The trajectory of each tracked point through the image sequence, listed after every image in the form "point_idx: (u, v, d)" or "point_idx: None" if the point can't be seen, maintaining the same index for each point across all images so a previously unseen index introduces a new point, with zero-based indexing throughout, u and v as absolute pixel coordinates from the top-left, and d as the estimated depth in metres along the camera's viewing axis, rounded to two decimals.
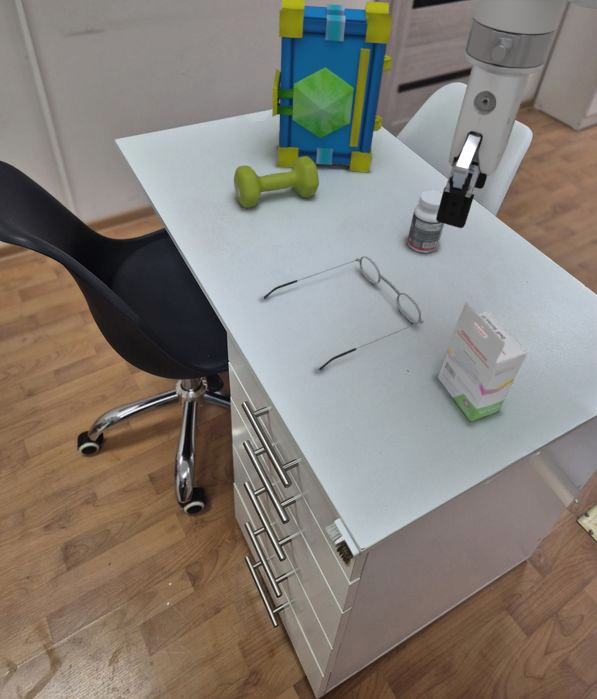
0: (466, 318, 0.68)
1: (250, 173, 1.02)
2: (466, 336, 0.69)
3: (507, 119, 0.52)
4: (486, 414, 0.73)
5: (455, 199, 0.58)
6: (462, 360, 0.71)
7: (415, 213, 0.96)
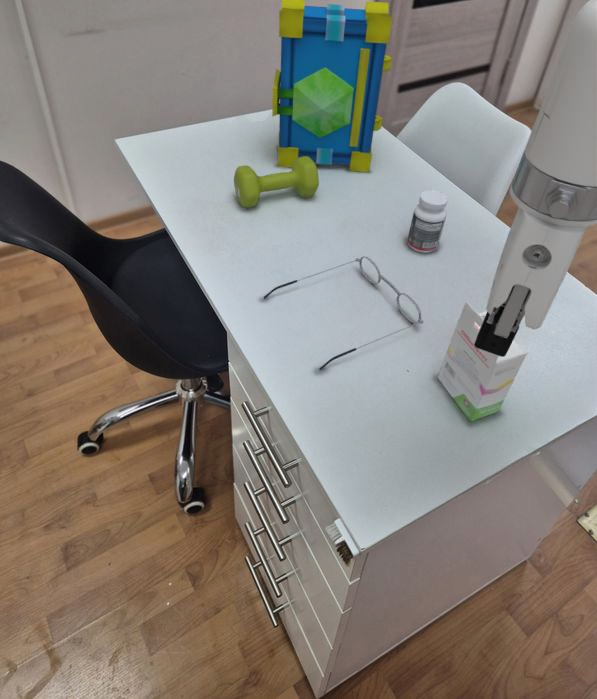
0: (466, 318, 0.68)
1: (250, 173, 1.02)
2: (466, 336, 0.69)
3: (563, 276, 0.42)
4: (486, 414, 0.73)
5: None
6: (462, 360, 0.71)
7: (415, 213, 0.96)
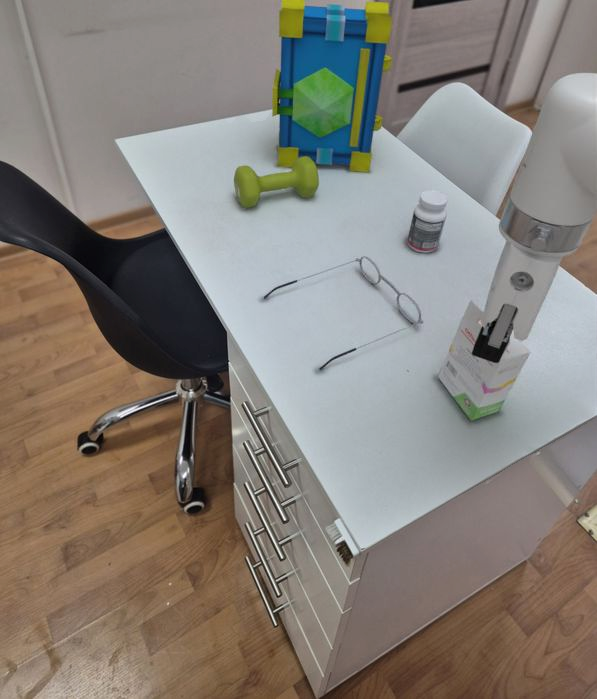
0: (470, 316, 0.68)
1: (250, 173, 1.02)
2: (470, 334, 0.69)
3: (544, 297, 0.51)
4: (486, 414, 0.73)
5: None
6: (464, 358, 0.71)
7: (415, 213, 0.96)
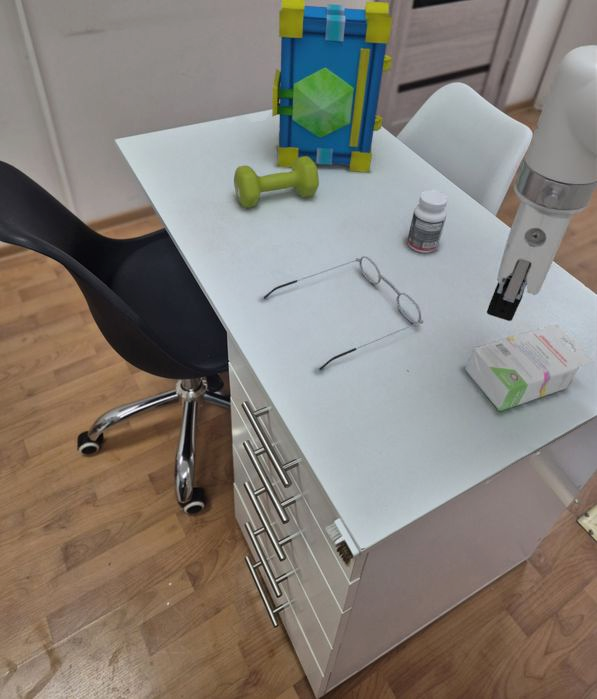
0: (552, 332, 0.79)
1: (250, 173, 1.02)
2: (546, 340, 0.78)
3: (555, 251, 0.56)
4: (508, 400, 0.73)
5: (506, 299, 0.66)
6: (529, 350, 0.76)
7: (415, 213, 0.96)
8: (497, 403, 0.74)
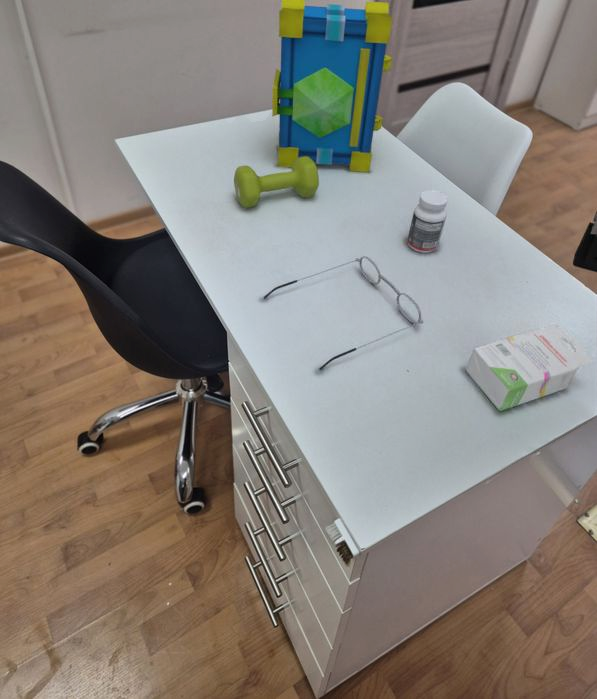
0: (552, 332, 0.79)
1: (250, 173, 1.02)
2: (546, 340, 0.78)
3: None
4: (508, 400, 0.73)
5: None
6: (529, 350, 0.76)
7: (415, 213, 0.96)
8: (497, 403, 0.74)
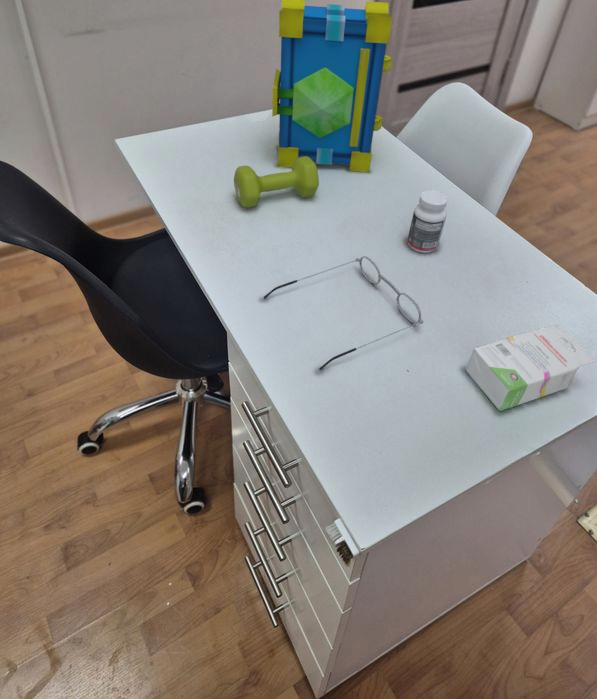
0: (552, 332, 0.79)
1: (250, 173, 1.02)
2: (546, 340, 0.78)
3: None
4: (508, 400, 0.73)
5: None
6: (529, 350, 0.76)
7: (415, 213, 0.96)
8: (497, 403, 0.74)
